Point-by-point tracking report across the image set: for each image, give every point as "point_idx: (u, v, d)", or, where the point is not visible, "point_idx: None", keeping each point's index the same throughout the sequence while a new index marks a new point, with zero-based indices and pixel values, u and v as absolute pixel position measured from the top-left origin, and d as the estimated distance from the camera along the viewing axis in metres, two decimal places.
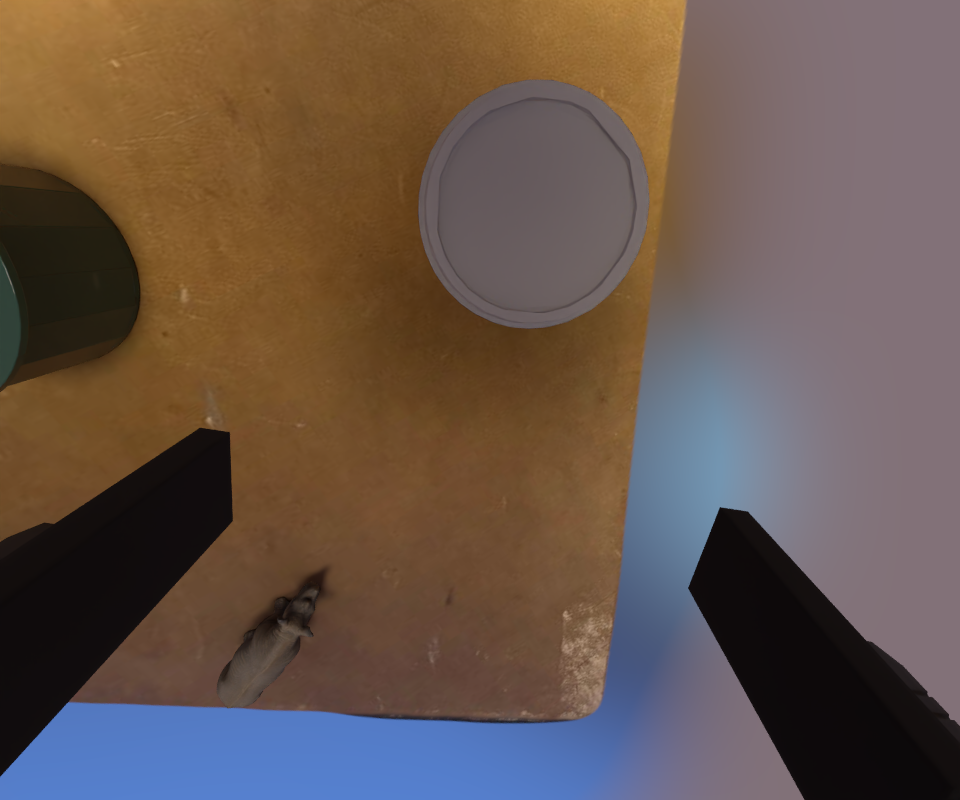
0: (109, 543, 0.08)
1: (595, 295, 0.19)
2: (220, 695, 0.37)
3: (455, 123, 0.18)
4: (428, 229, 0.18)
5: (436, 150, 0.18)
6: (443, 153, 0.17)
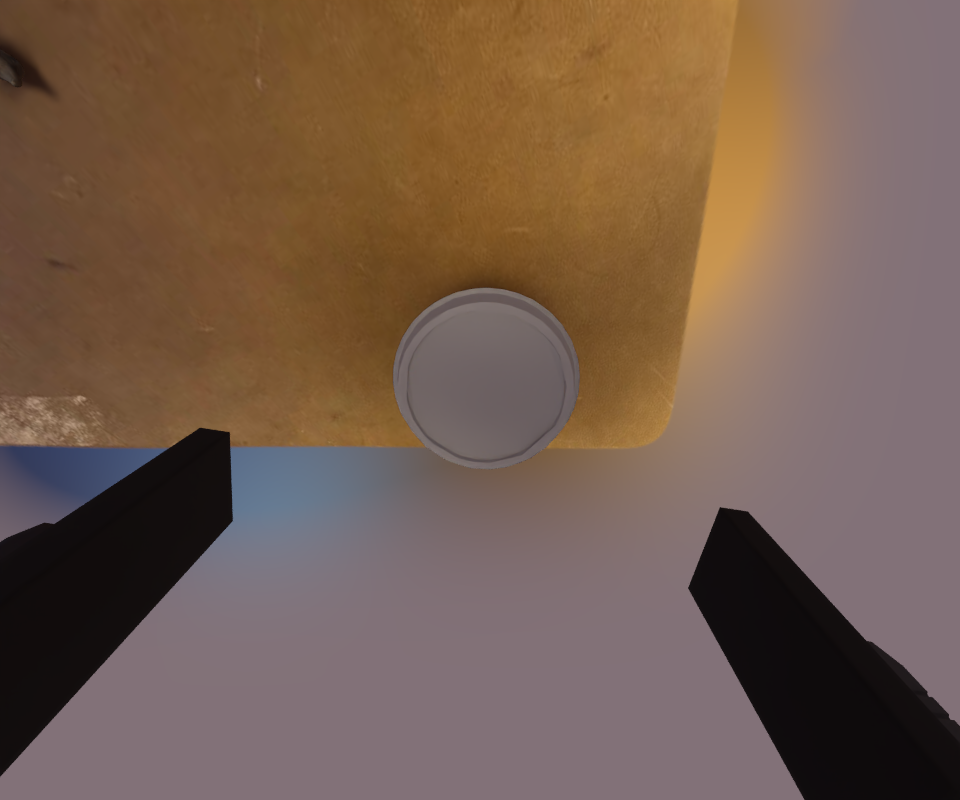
0: (109, 543, 0.08)
1: (423, 439, 0.23)
2: None
3: (554, 322, 0.22)
4: (473, 303, 0.21)
5: (535, 305, 0.22)
6: (531, 318, 0.21)
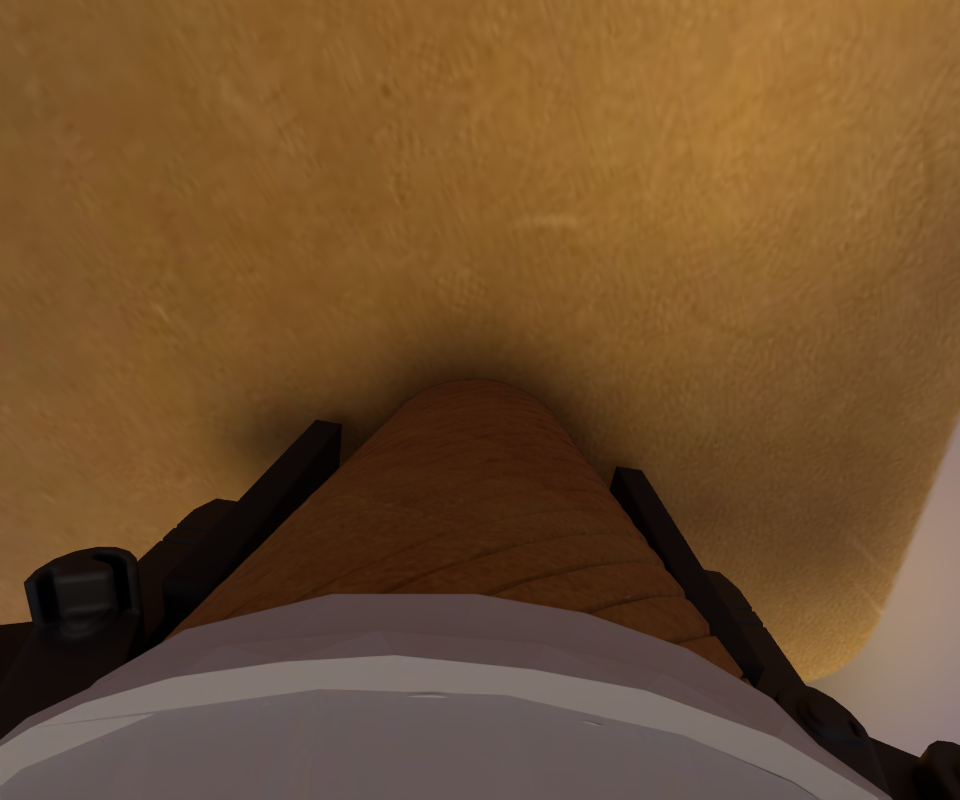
0: (282, 514, 0.10)
1: None
2: None
3: None
4: None
5: (777, 759, 0.03)
6: None
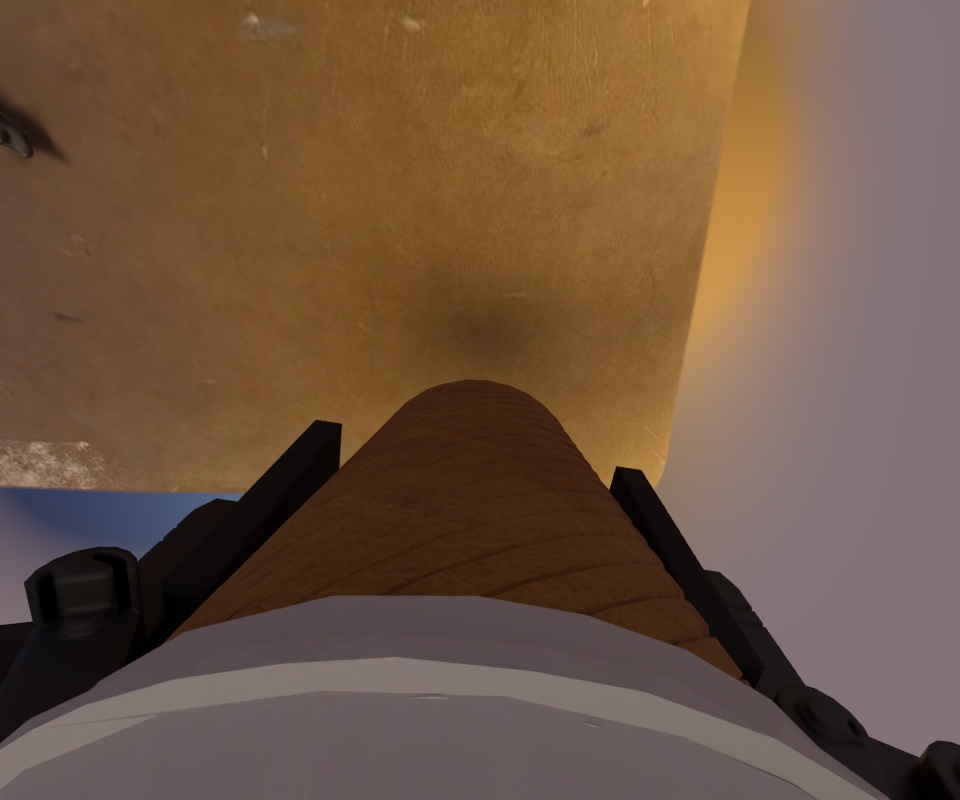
0: (282, 514, 0.10)
1: None
2: None
3: None
4: None
5: (775, 760, 0.03)
6: None
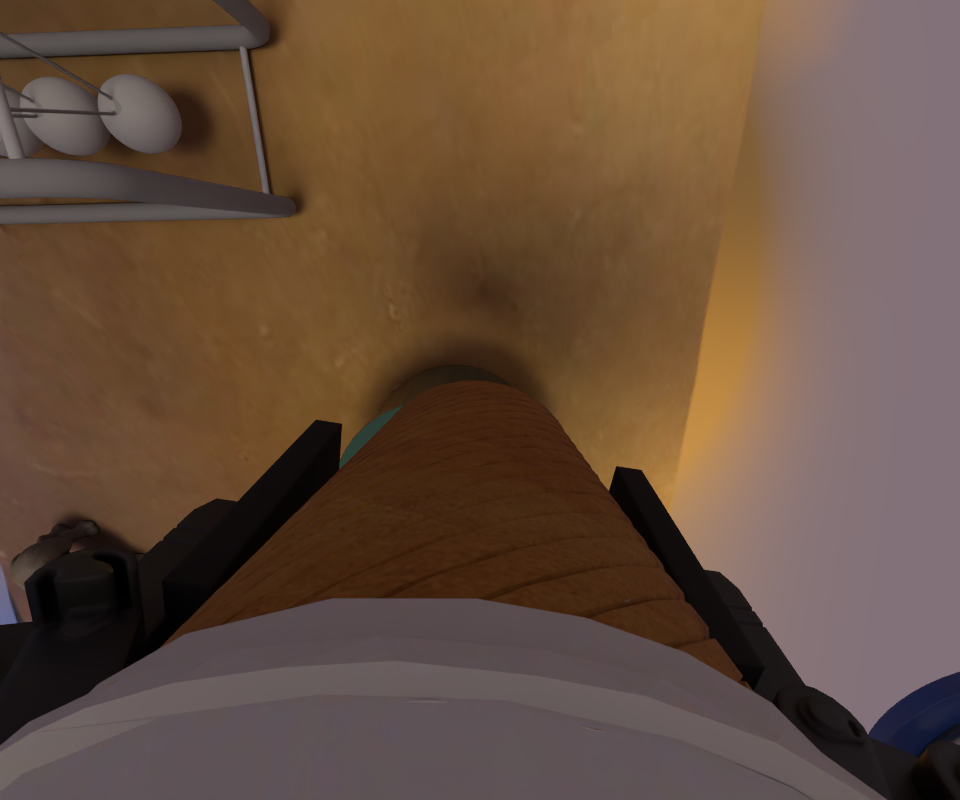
0: (282, 514, 0.10)
1: None
2: (26, 570, 0.35)
3: None
4: None
5: (775, 764, 0.03)
6: None
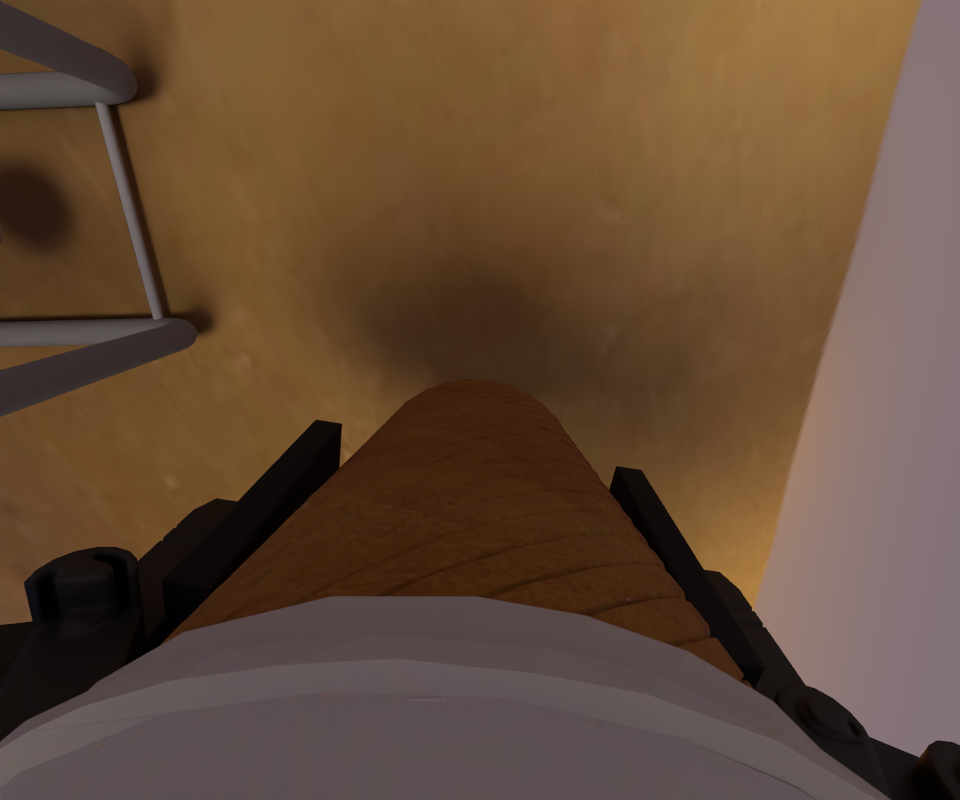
0: (282, 514, 0.10)
1: None
2: None
3: None
4: None
5: (778, 763, 0.03)
6: None
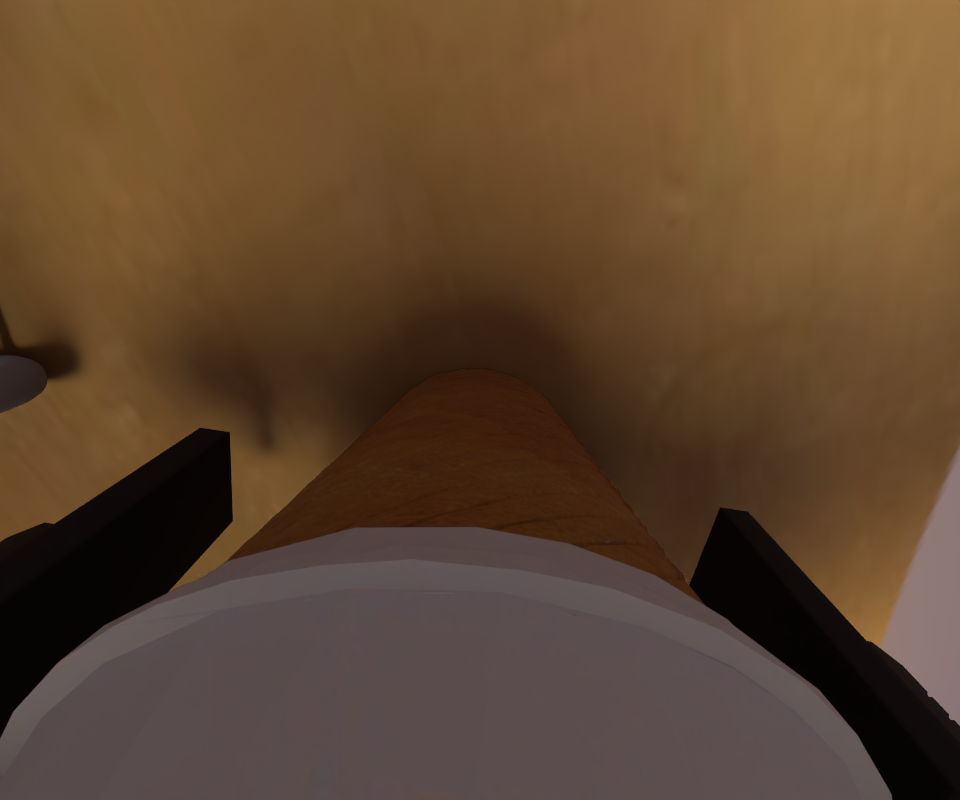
0: (109, 543, 0.08)
1: None
2: None
3: (821, 732, 0.04)
4: (275, 795, 0.02)
5: (720, 650, 0.04)
6: None
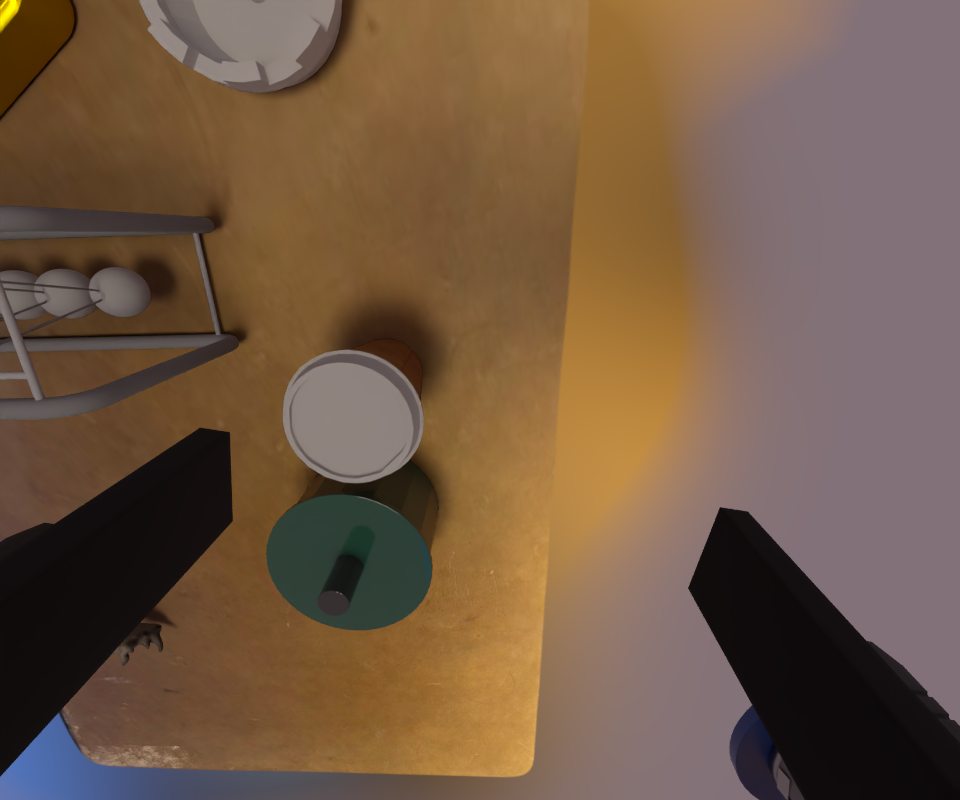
0: (109, 543, 0.08)
1: (305, 460, 0.31)
2: None
3: (399, 374, 0.30)
4: (332, 363, 0.28)
5: (384, 362, 0.30)
6: (375, 374, 0.29)
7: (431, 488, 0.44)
